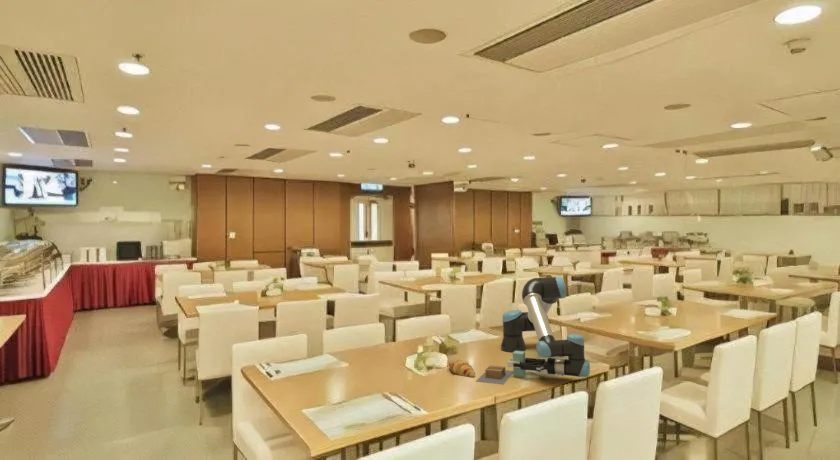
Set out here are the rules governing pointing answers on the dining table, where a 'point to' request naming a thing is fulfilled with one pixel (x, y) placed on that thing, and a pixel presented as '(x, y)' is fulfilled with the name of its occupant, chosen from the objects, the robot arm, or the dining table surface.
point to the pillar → (519, 357)
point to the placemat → (495, 381)
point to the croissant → (462, 368)
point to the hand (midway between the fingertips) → (509, 362)
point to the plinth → (495, 372)
